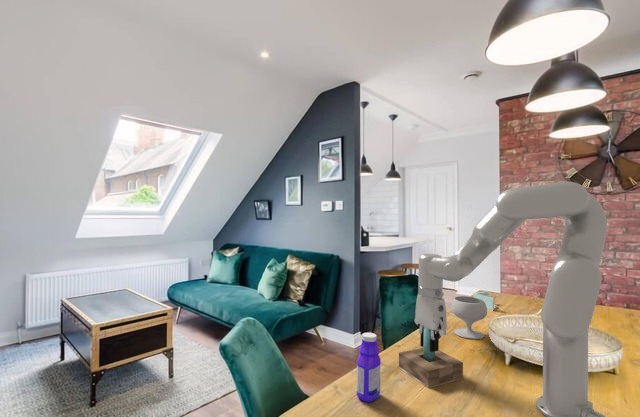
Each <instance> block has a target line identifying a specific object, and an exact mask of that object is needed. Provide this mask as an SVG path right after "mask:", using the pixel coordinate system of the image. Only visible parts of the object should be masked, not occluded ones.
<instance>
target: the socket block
mask: <svg viewBox="0 0 640 417" xmlns="http://www.w3.org/2000/svg"><path fill="white" fill-rule="evenodd" d="M397 368H398V369H399V370H402V371H403V372H404V373H405V374H406V375H408V376H410V377H411V378H413V379H414V380H416V381H417V382H418V383H420V384H421V385H422V386H424V387H426V388H427V389H431V388H435V387H438V386H441V385H445V384H449V383H453V382H457V381H460V380H464V379H465V378H464V361H461V360H459V359H457V358H455V357H453V356H451V355H449V354H447V353H445V352H444V351H442V350H440V349H439V350H438V351H435V361H433V362H428V361H426V360H425V359H423V347H420V348H415V349H411V350H406V351H405V350H404V351H401V352H398V366H397Z"/></svg>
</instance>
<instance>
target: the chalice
mask: <svg viewBox="0 0 640 417" xmlns="http://www.w3.org/2000/svg"><path fill="white" fill-rule="evenodd" d="M451 311H452V313H453V314H454V315H455V316H456V317H457V318H459V319H460V320H462V321H463V322H465V325H466V327H465V328H463V327H462V328H456V329H454V330H453V333H454V334H455V335H456V336H459V337H460V338H461V337H462V338H464V339H469V340H481V339H484V338H485V337H484V335H485V334H484V333H483V332H481V331H479V330H478V329H477V330H476V329H472V325H473V324H474V323H476V322H479V321H482V320H484V319H485V318H486V317H487V315H488V310H487V307H486V304H485V302H484V301H483V300H482V299H479V298H475V297H473V296H466V295H465V296H464V295H462V296H461V295H460V296H455V297H454V299H453V300H452V303H451ZM483 337H484V338H483Z"/></svg>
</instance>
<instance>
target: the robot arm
mask: <svg viewBox="0 0 640 417" xmlns="http://www.w3.org/2000/svg"><path fill="white" fill-rule="evenodd" d="M560 217H563V218H564V223H565V224H564V225H565V226H564V230H563V231H564V232H563V235H562V238H561V239H562V240H561V243H560V244H561V245H560V248H559V251H558V254H557V257H556V259H555V261H554V263H553V265H552V268H551V272H550V277H549V279H548V280H549V281H548V284H547V288H546V292H545V296H544V300H543V304H542V307H541V312H540V318H541V321H542V324H543V325H542V326H543V327H542V329H543V330H542V336H543V337H542V395H541V396H538V397H536V399H535V407H536V408H537V410H538V411H539V412H540V413H542V414H543V415H544V416H545V417H606V415H604V414H603V413H601V412H597V411H595V409H594V405H593V404H594V403H593V402H591V401H589V328H590V325H591V322H592V319H593V315H594V312H595V308H596V305H597V301H598V297H599V293H600V289H601V285H602V272H601V270H600V265H601V260H602V255H603V252H604V247H605V242H606V238H607V232H608V219H607V215H606V212H605V210H604V208H603V207H602V205H601V204H600V202H599V201H598V200H597V199H596V198H595V197H594V196H593V195H592V194H591V193H589V192H588V190H587V189H586V188H585V187H584V186H583V185H581V184H579V183H577V182H574V181H558V182H551V183H544V184H537V185H530V186H522V187H521V186H519V187H512V188H509V189H507V190H504V191H502V192H501V193H500V194H499V195H498V197H497V198H496V201H495V205H493V207H492V208H491V209H490V210H488V212H487V213H486V214H485V215H484V216H483V217H482V218H481V219H480V220H479V221H478V222H477V223H476V224H475V226H474V228H473V230H472V233H471V236H470V237H469V239H468V240H467V241H466V242H465V243H464V245H463V246H462V247H461V248H459V250H457V252H456V253H454V255H451V256H446V257H445V256H444V257H443V256H442V255H439V254H435V253H422V254H420V255H419V256H418V288H417V289H418V290H417V291H418V292H417V296H416V303H415V315H414V316H415V318H414V324H416V326H417V329H419V330H418V332H419V334H420V341H419V342H420V343H419V344H420V345H419V346H420V348H423V343H424V326H425V327H427V328H429V329H431V339H430V352H435V351H438V350H440V349H439V347H440V346H439V344H440V341H439V340H440V339H441V338H442V337H444V336H446V335H448V333H447V330H446V329H447V327H448V321H447V320H448V319H447V318H448V317H447V308H446V301H445V298H444V295H445V294H444V292H443V291H444V290H443V284H444V283H443V282H444V281H443V280H445V281H448V282H458V281H461V280H462V279H465V277H466V278H467V277H468V276H469V275H471V273H472V272H474V271H475V269H477V268H478V266H480V265H481V264H482V263H483V261H485V259H487V258H488V257H489V256H490V255H491V254H492V253H493V252H494V251H495V250H497V249H498V248H499V246H500V245H502V244H503V243H504V242H505V241H506V239H508V237H510V236H511V235H512V234H513V233H514V232H515V231H516V229H517V228H519V227H520V226H521V225H522V224H523V223H524V222H525V221H526V220H536V219H547V218H550V219H551V218H560Z"/></svg>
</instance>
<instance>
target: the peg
mask: <svg viewBox="0 0 640 417" xmlns="http://www.w3.org/2000/svg"><path fill="white" fill-rule="evenodd" d="M430 339H431V329H429V328H427V327H425V326H424V343H423V347H422V348H423V359H425V360H426V361H428V362H433V361H435V352H430Z"/></svg>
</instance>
